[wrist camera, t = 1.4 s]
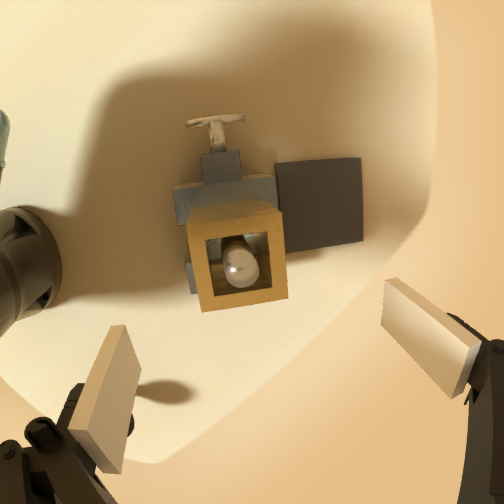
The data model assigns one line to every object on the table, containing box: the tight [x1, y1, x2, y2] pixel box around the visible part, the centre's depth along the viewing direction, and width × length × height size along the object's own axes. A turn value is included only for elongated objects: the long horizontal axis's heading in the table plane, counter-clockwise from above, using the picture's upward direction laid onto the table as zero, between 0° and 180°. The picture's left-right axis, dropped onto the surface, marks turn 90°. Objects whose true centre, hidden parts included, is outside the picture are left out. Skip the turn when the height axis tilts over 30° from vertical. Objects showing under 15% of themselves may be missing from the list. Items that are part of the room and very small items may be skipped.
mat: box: [275, 158, 363, 253], centre depth 37 cm, size 11×11×1 cm
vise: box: [173, 113, 278, 294], centre depth 28 cm, size 10×18×16 cm, turn 6°
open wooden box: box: [186, 198, 288, 312], centre depth 27 cm, size 7×7×8 cm
